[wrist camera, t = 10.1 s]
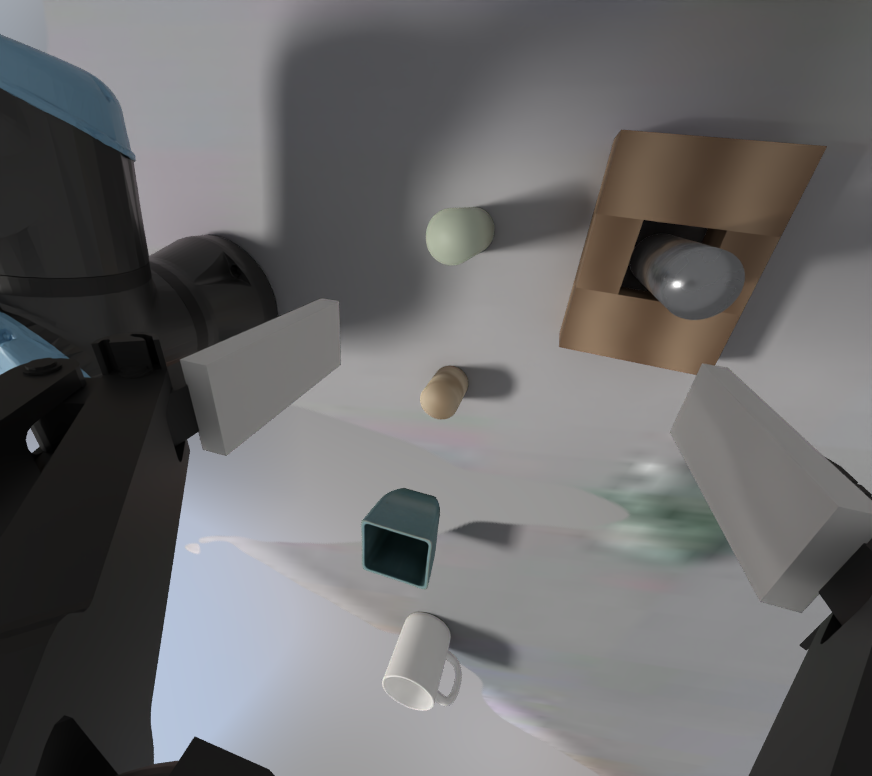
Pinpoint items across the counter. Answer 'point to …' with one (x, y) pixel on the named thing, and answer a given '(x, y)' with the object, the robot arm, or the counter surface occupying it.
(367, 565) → the flower pot
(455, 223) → the medium pin
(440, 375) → the short pin
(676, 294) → the long pin
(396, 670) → the cup
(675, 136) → the hole board
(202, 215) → the counter surface
